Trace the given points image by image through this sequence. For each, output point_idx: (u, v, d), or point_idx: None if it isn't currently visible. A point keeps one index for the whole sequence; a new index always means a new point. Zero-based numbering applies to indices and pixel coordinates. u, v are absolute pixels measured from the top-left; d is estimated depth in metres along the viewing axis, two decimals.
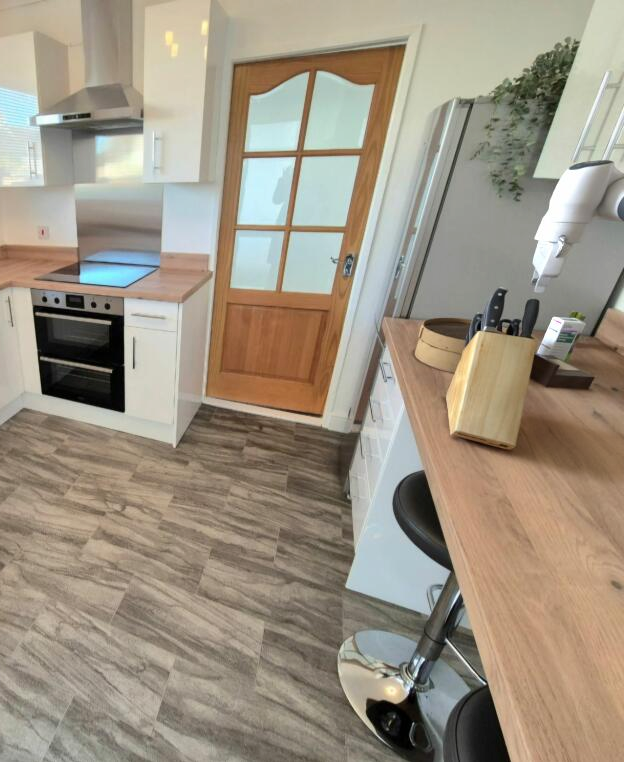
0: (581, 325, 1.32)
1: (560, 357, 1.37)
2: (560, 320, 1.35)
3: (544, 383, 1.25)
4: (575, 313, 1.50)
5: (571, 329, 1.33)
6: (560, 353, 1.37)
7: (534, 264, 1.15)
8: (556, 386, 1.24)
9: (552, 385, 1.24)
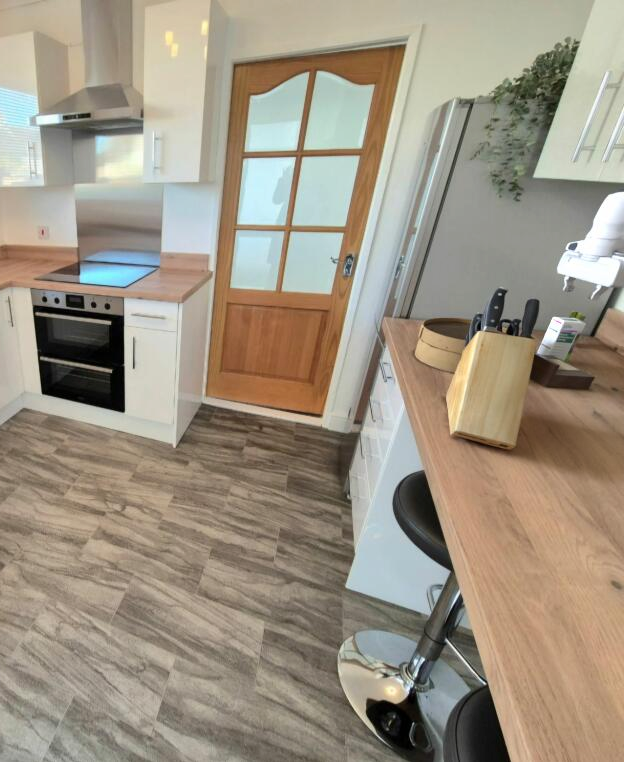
0: (581, 325, 1.32)
1: (560, 357, 1.37)
2: (560, 320, 1.35)
3: (544, 383, 1.25)
4: (575, 313, 1.50)
5: (571, 329, 1.33)
6: (560, 353, 1.37)
7: (569, 274, 1.32)
8: (556, 386, 1.24)
9: (552, 385, 1.24)
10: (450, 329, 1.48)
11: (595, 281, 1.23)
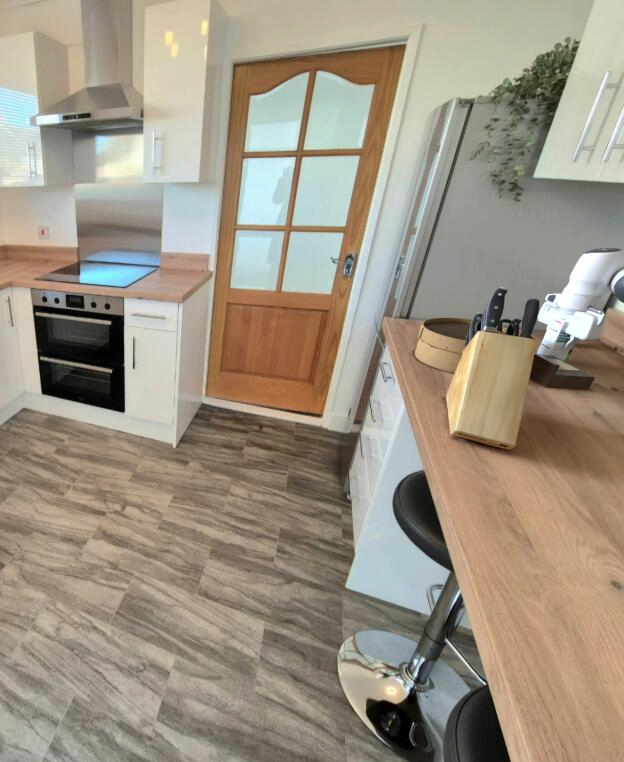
0: None
1: (560, 357, 1.37)
2: (560, 320, 1.35)
3: (544, 383, 1.25)
4: None
5: None
6: (560, 353, 1.37)
7: (549, 323, 1.40)
8: (556, 386, 1.24)
9: (552, 385, 1.24)
10: (450, 329, 1.48)
11: (571, 333, 1.32)
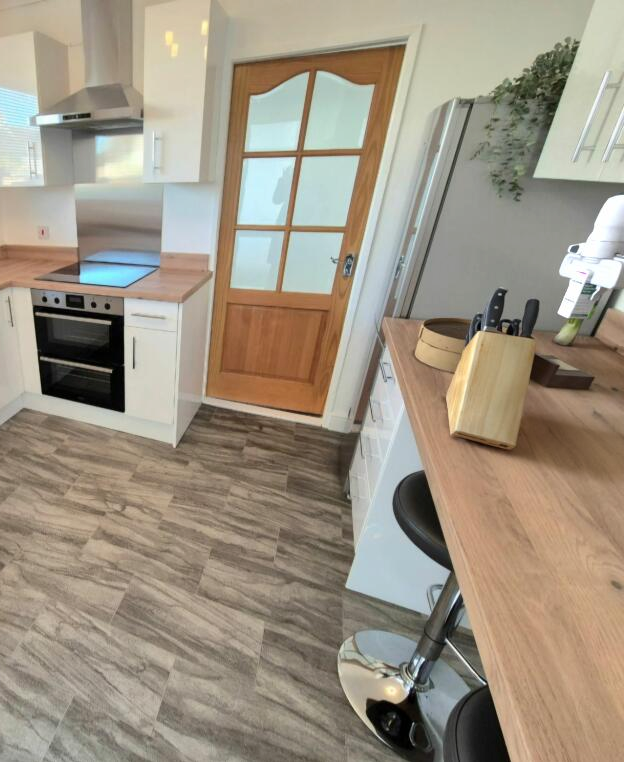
0: None
1: (585, 310, 1.30)
2: (584, 271, 1.28)
3: (544, 383, 1.25)
4: None
5: None
6: (585, 306, 1.30)
7: (572, 276, 1.33)
8: (556, 386, 1.24)
9: (552, 385, 1.24)
10: (450, 329, 1.48)
11: (597, 283, 1.25)
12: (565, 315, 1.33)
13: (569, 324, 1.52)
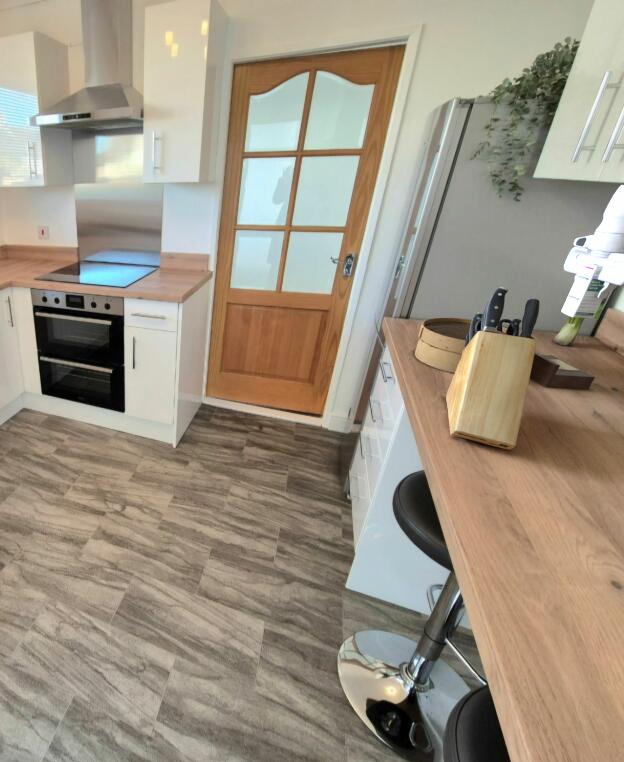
0: None
1: (591, 309, 1.20)
2: (592, 265, 1.17)
3: (544, 383, 1.25)
4: None
5: None
6: (591, 304, 1.19)
7: (577, 271, 1.22)
8: (556, 386, 1.24)
9: (552, 385, 1.24)
10: (450, 329, 1.48)
11: (605, 279, 1.14)
12: (569, 314, 1.23)
13: (569, 324, 1.52)
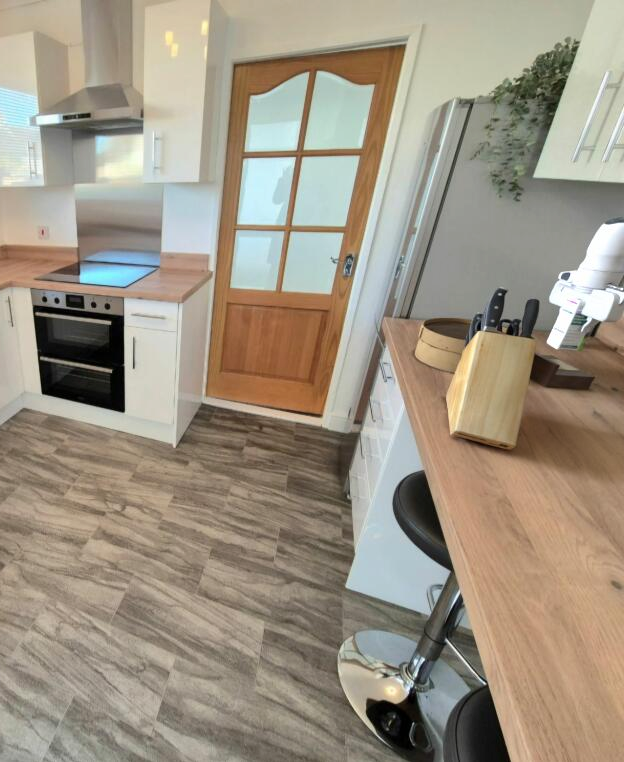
0: None
1: (575, 342, 1.23)
2: (575, 300, 1.20)
3: (544, 383, 1.25)
4: None
5: None
6: (575, 337, 1.22)
7: (562, 304, 1.25)
8: (556, 386, 1.24)
9: (552, 385, 1.24)
10: (450, 329, 1.48)
11: (588, 314, 1.17)
12: (554, 346, 1.26)
13: None
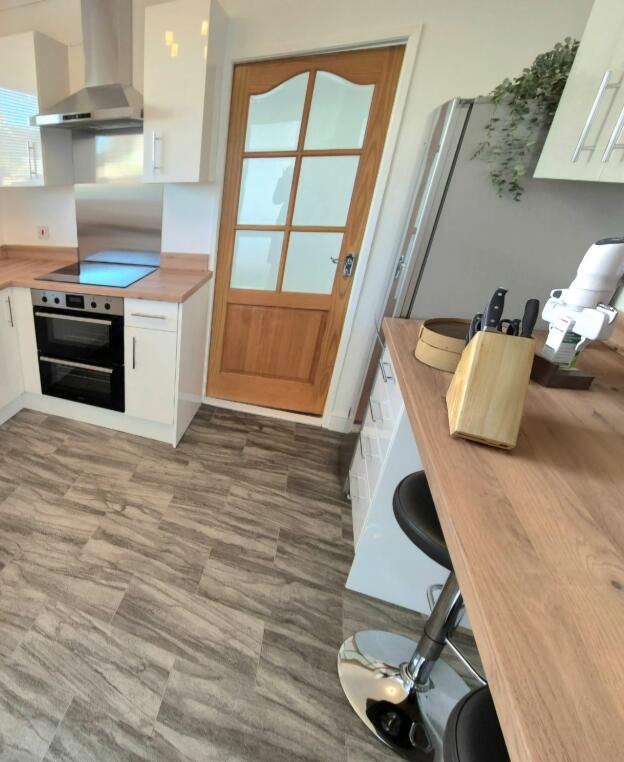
0: None
1: (566, 359, 1.25)
2: (566, 319, 1.23)
3: (544, 383, 1.25)
4: None
5: None
6: (566, 355, 1.25)
7: (554, 322, 1.28)
8: (556, 386, 1.24)
9: (552, 385, 1.24)
10: (450, 329, 1.48)
11: (579, 332, 1.19)
12: None
13: None
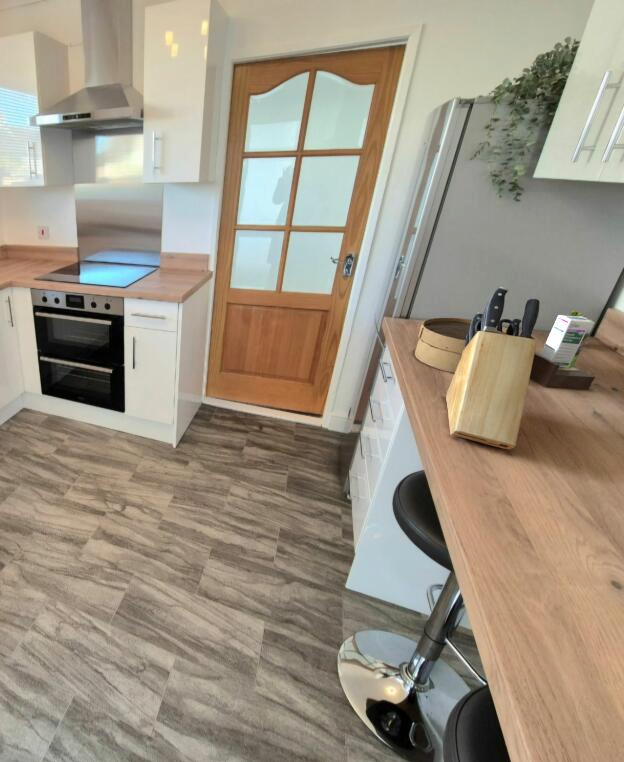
0: (589, 325, 1.20)
1: (566, 359, 1.25)
2: (566, 319, 1.23)
3: (544, 383, 1.25)
4: (575, 313, 1.50)
5: (578, 328, 1.21)
6: (566, 355, 1.25)
7: None
8: (556, 386, 1.24)
9: (552, 385, 1.24)
10: (450, 329, 1.48)
11: None
12: None
13: None
